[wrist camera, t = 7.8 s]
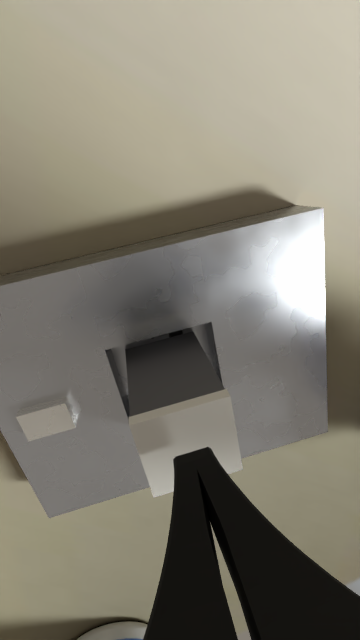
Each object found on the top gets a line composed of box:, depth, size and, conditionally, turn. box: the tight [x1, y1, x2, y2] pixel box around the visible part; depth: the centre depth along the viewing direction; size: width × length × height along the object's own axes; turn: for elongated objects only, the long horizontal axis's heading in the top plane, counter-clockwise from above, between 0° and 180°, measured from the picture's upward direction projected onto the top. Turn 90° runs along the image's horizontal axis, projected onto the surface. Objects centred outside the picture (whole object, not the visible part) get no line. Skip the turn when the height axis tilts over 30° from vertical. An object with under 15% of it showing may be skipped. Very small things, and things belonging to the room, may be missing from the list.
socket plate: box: [0, 205, 328, 518], centre depth 18 cm, size 18×14×3 cm
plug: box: [125, 331, 243, 497], centre depth 17 cm, size 4×4×6 cm
